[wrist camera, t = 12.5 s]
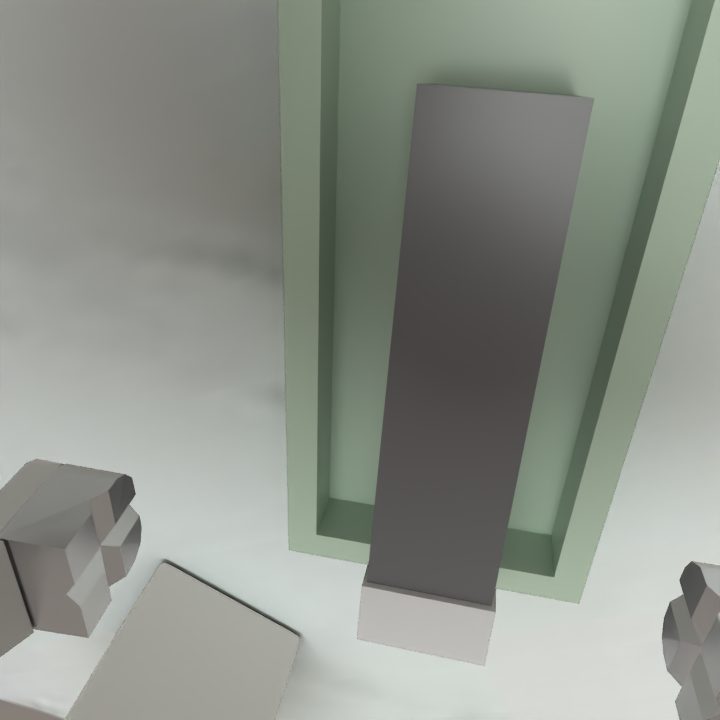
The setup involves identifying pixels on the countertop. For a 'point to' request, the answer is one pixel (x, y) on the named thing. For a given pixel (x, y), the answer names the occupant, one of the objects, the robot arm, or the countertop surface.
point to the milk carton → (189, 658)
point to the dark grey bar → (465, 355)
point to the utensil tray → (579, 261)
